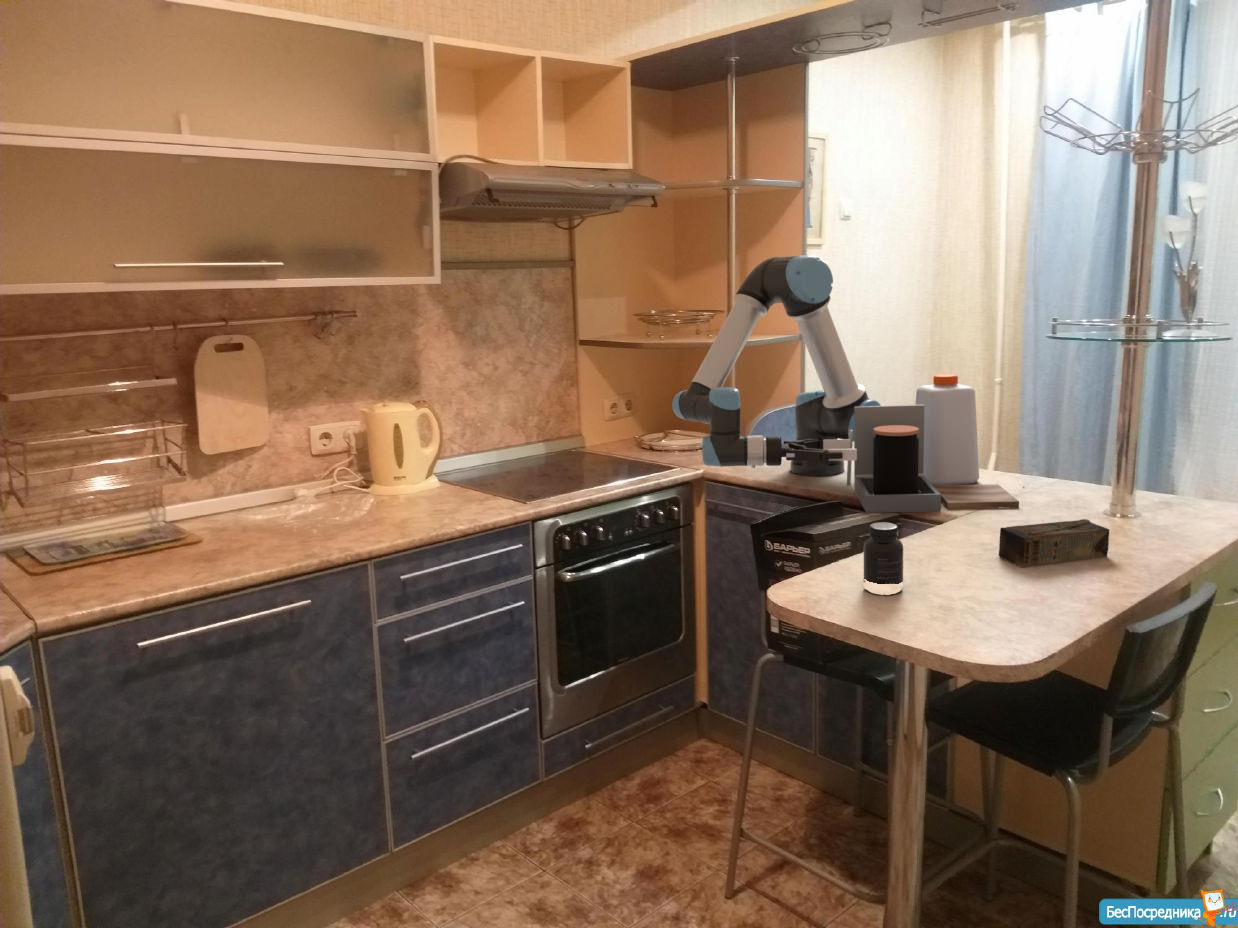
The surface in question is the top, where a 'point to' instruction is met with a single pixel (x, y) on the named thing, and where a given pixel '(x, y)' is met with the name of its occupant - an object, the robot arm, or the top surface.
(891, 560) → the supplement bottle
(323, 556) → the top surface
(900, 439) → the coffee jar
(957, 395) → the plastic bottle
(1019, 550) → the beverage carton
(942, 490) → the walnut board
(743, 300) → the robot arm
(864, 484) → the equipment case
